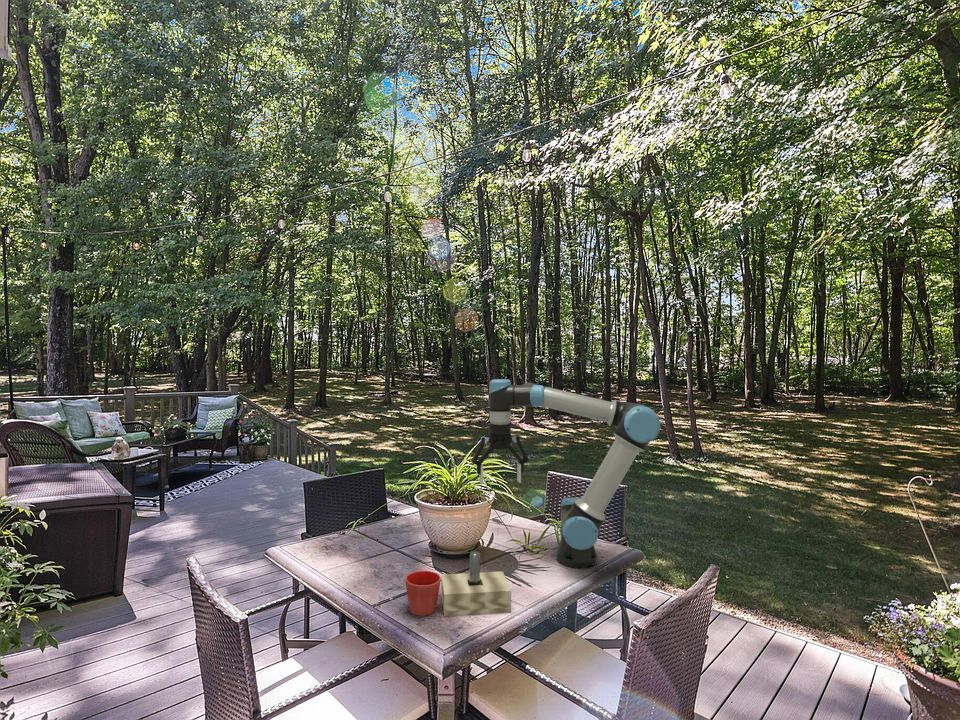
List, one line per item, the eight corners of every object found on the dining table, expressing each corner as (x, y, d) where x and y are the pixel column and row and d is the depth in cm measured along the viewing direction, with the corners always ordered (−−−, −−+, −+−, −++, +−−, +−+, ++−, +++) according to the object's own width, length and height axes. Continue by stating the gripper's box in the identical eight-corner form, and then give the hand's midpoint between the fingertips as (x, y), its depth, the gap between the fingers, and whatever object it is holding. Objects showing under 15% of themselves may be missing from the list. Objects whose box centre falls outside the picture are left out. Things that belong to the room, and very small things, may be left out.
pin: (478, 595, 164) (479, 550, 164) (480, 600, 161) (480, 554, 161) (468, 595, 164) (469, 551, 163) (469, 600, 160) (470, 555, 160)
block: (502, 591, 171) (502, 571, 171) (511, 612, 157) (511, 590, 157) (441, 594, 168) (441, 574, 168) (444, 616, 154) (444, 594, 154)
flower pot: (441, 600, 164) (441, 569, 164) (439, 618, 153) (440, 585, 153) (407, 601, 164) (407, 570, 163) (403, 619, 153) (403, 585, 152)
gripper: (531, 420, 192) (531, 478, 192) (463, 422, 188) (464, 481, 188) (537, 423, 184) (537, 483, 185) (466, 425, 180) (467, 486, 181)
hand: (500, 482), depth 186 cm, fingers open, 13 cm apart
